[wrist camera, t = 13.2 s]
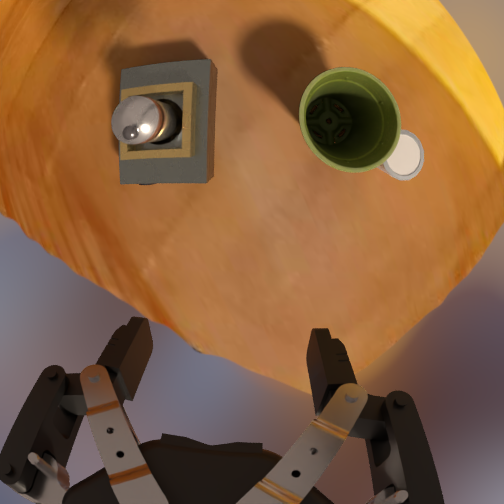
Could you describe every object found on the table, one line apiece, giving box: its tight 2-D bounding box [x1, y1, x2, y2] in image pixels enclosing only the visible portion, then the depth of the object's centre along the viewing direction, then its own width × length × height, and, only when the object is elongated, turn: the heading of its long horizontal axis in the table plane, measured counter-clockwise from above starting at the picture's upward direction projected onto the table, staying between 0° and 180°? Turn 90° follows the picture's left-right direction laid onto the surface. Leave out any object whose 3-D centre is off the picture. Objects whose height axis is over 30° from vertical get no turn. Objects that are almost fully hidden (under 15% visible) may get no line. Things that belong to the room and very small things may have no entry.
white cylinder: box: [377, 130, 424, 180], centre depth 34 cm, size 7×7×7 cm
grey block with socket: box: [119, 59, 217, 185], centre depth 32 cm, size 16×12×8 cm
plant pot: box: [299, 67, 401, 173], centre depth 31 cm, size 12×12×11 cm
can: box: [111, 96, 178, 144], centre depth 26 cm, size 5×5×9 cm
